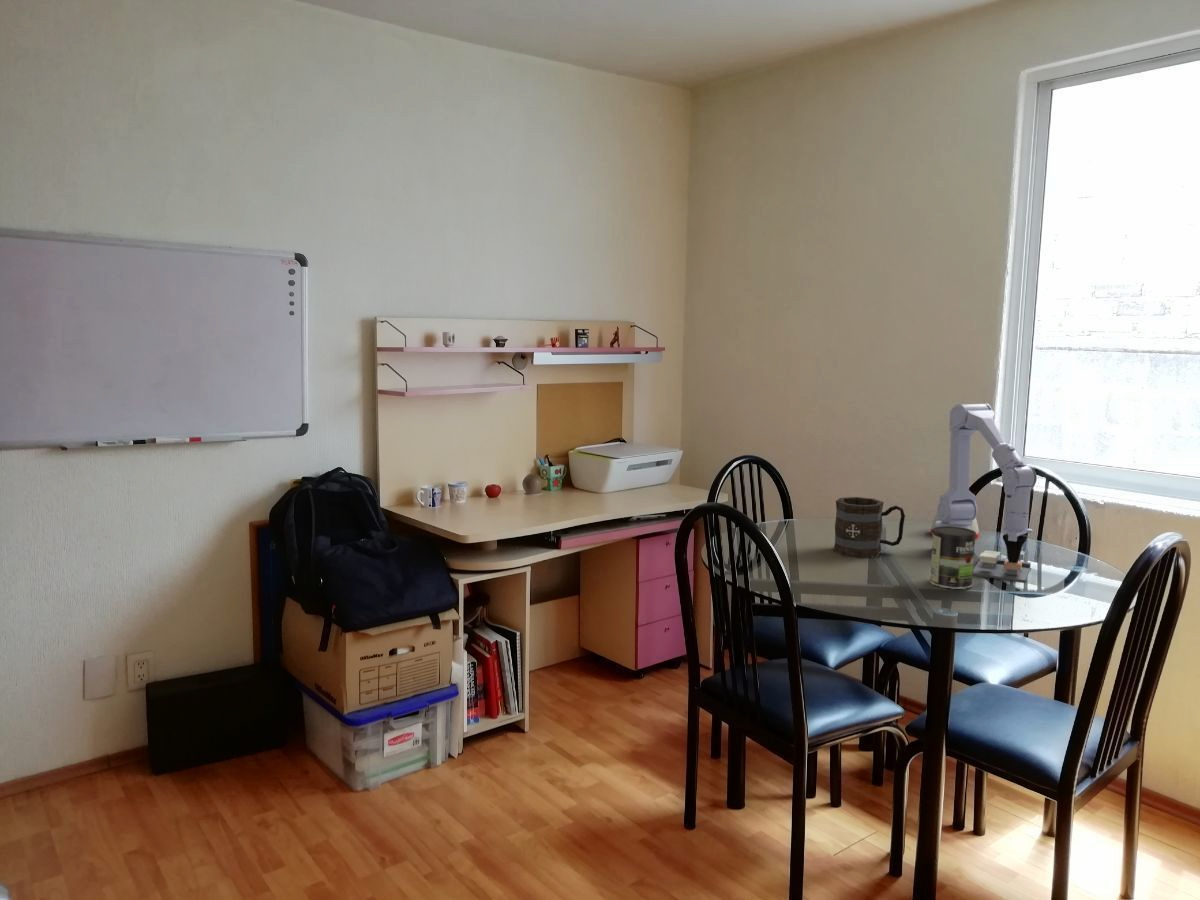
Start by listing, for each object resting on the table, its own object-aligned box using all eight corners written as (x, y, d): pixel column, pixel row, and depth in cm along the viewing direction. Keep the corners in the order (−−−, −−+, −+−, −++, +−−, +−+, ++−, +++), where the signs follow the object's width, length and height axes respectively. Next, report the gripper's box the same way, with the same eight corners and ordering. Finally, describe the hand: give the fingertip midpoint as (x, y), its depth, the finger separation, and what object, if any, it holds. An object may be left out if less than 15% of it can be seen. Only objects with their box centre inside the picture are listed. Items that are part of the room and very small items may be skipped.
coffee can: (981, 586, 230) (985, 532, 228) (952, 592, 226) (956, 537, 223) (949, 576, 239) (952, 524, 237) (920, 581, 235) (923, 528, 233)
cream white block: (982, 564, 247) (983, 553, 247) (984, 561, 251) (984, 550, 250) (998, 566, 245) (998, 555, 245) (999, 563, 249) (1000, 552, 248)
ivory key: (979, 567, 241) (979, 555, 240) (981, 563, 244) (981, 552, 244) (995, 569, 239) (996, 557, 238) (997, 565, 242) (997, 554, 242)
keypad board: (971, 575, 240) (971, 569, 240) (979, 561, 253) (979, 556, 253) (1025, 582, 234) (1025, 576, 234) (1030, 568, 247) (1030, 562, 246)
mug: (836, 557, 258) (838, 505, 256) (830, 545, 271) (832, 496, 269) (907, 559, 255) (910, 507, 253) (898, 547, 269) (900, 498, 266)
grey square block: (1006, 564, 244) (1007, 552, 244) (1007, 560, 247) (1008, 549, 247) (1022, 566, 242) (1023, 554, 242) (1024, 562, 245) (1024, 551, 245)
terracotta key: (1003, 574, 238) (1004, 562, 238) (1004, 570, 242) (1005, 559, 241) (1019, 576, 236) (1020, 564, 236) (1021, 572, 240) (1022, 561, 239)
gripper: (1031, 518, 228) (1027, 570, 230) (1035, 508, 241) (1032, 557, 243) (1000, 515, 232) (997, 567, 234) (1007, 505, 244) (1003, 554, 246)
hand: (1013, 562), depth 238 cm, fingers closed, pressing on terracotta key
